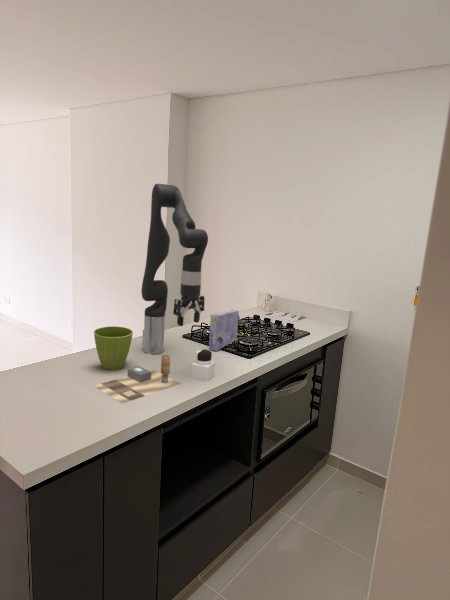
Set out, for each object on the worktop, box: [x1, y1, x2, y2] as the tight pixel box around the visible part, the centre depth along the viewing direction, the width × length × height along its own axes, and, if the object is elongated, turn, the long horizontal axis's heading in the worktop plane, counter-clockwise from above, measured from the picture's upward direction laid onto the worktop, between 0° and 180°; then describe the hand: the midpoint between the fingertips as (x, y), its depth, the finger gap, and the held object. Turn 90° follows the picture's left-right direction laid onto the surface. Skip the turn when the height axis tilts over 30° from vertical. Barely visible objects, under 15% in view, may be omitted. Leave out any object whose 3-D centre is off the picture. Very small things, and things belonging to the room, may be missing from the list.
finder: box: [127, 365, 151, 383], centre depth 158 cm, size 8×5×3 cm, turn 48°
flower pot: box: [93, 326, 134, 371], centre depth 166 cm, size 15×15×16 cm
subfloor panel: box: [93, 368, 182, 404], centre depth 152 cm, size 18×26×2 cm
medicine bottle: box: [190, 348, 216, 382], centre depth 163 cm, size 7×7×12 cm
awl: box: [160, 354, 171, 383], centre depth 155 cm, size 3×3×10 cm
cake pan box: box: [208, 309, 240, 352], centre depth 205 cm, size 19×5×18 cm, turn 144°
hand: (188, 323), depth 160 cm, fingers open, 8 cm apart
